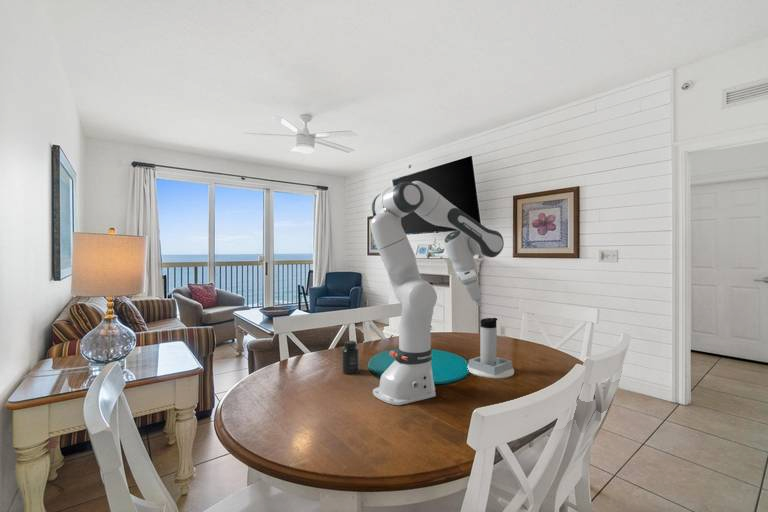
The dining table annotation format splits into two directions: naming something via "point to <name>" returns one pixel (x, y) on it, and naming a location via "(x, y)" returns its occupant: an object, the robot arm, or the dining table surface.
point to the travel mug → (488, 341)
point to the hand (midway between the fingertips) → (477, 299)
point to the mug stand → (491, 368)
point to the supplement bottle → (350, 358)
